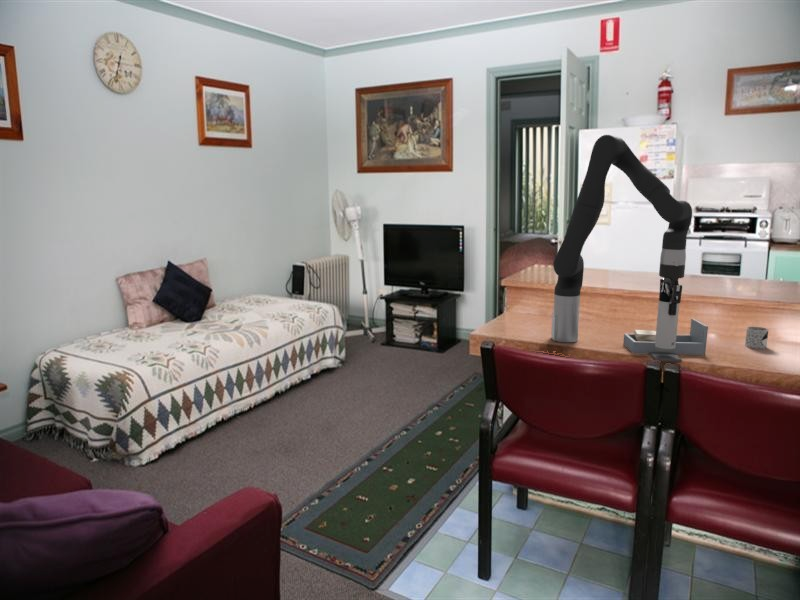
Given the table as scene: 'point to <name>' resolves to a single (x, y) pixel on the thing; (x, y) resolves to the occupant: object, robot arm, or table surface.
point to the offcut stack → (645, 335)
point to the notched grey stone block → (756, 337)
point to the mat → (665, 356)
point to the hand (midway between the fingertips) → (668, 312)
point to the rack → (684, 343)
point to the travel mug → (666, 326)
